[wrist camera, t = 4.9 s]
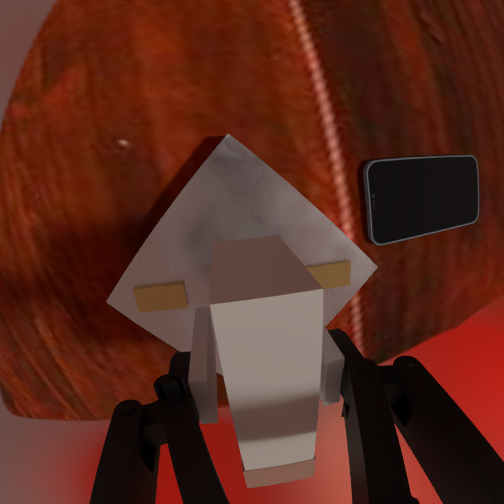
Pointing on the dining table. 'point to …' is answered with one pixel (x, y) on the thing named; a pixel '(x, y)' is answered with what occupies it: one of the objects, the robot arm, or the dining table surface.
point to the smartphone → (419, 196)
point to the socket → (228, 229)
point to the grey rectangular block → (269, 354)
